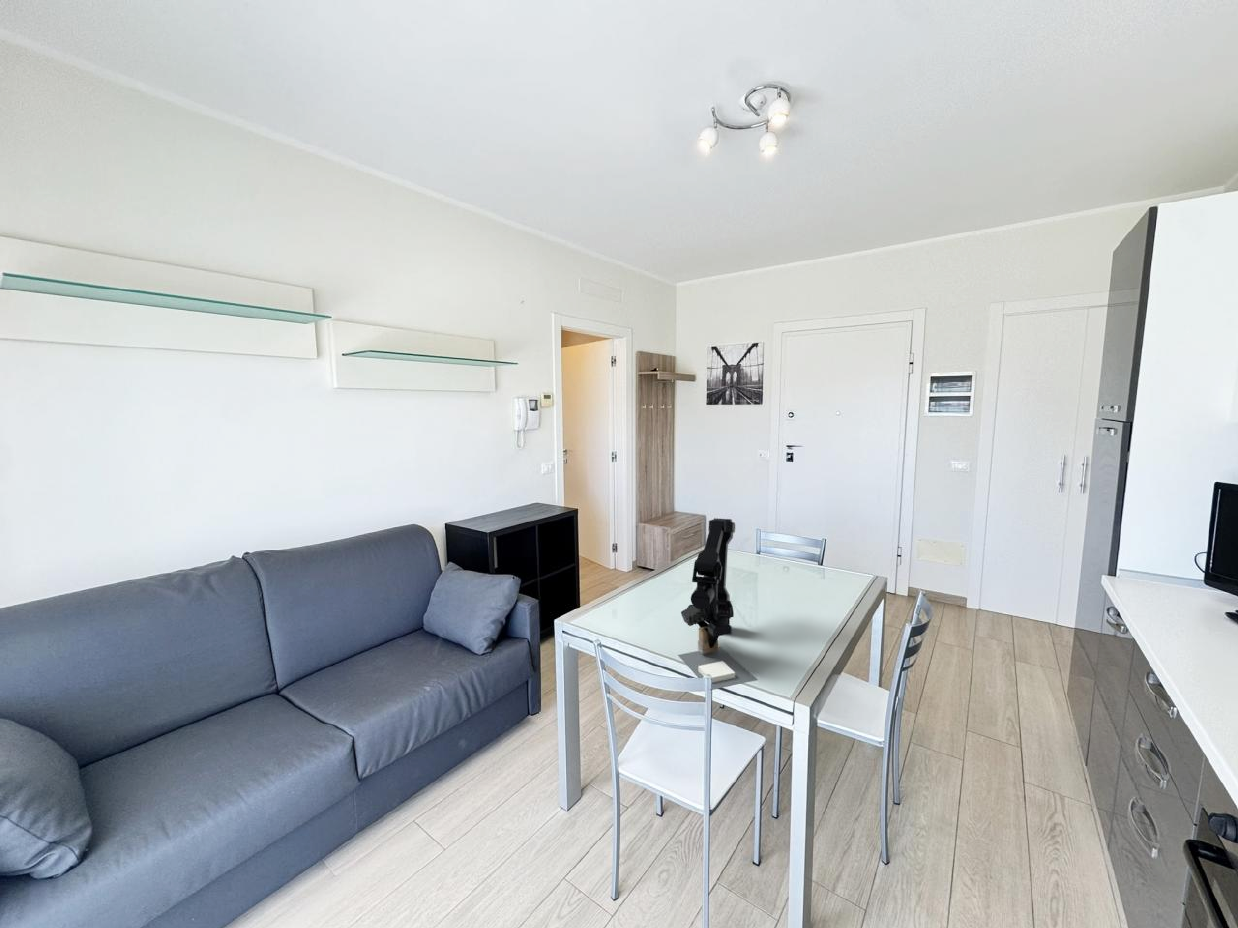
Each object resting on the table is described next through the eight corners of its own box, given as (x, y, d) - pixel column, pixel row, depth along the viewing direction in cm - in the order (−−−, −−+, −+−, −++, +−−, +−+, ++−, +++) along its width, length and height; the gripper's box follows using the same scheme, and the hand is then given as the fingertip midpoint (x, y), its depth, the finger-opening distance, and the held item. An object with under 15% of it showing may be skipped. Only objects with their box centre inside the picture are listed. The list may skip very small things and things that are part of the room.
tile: (722, 661, 147) (698, 666, 145) (735, 672, 141) (709, 677, 138) (722, 665, 148) (698, 671, 145) (735, 677, 141) (709, 683, 139)
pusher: (713, 646, 158) (713, 625, 157) (717, 650, 155) (717, 629, 154) (698, 649, 156) (697, 628, 155) (702, 653, 153) (702, 632, 152)
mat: (720, 647, 160) (720, 646, 160) (757, 680, 140) (757, 679, 140) (677, 656, 155) (677, 654, 155) (709, 691, 135) (709, 690, 135)
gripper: (671, 590, 160) (672, 636, 162) (698, 612, 142) (699, 664, 144) (703, 585, 163) (703, 631, 165) (732, 606, 146) (733, 657, 147)
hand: (708, 645), depth 155 cm, fingers closed on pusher, 3 cm apart
